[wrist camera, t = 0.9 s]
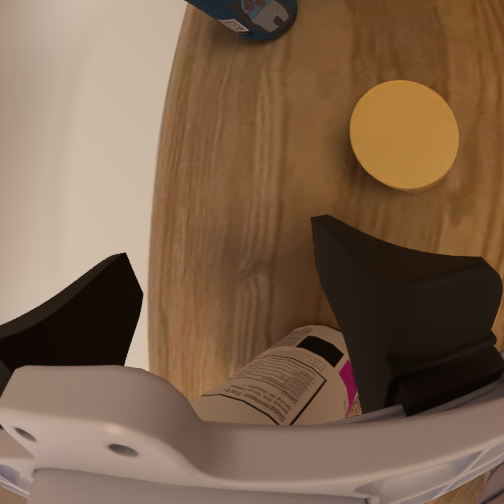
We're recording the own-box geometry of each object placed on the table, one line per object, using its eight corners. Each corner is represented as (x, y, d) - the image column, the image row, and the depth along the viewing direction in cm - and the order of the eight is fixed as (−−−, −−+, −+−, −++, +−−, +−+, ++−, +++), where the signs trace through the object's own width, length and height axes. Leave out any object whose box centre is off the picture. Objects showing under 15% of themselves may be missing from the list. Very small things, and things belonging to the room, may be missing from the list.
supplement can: (385, 377, 23) (319, 514, 10) (314, 416, 27) (221, 525, 14) (326, 303, 25) (210, 389, 13) (263, 353, 29) (142, 433, 16)
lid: (456, 97, 13) (458, 85, 12) (455, 198, 14) (458, 196, 13) (358, 90, 16) (350, 78, 15) (354, 185, 18) (346, 182, 16)
